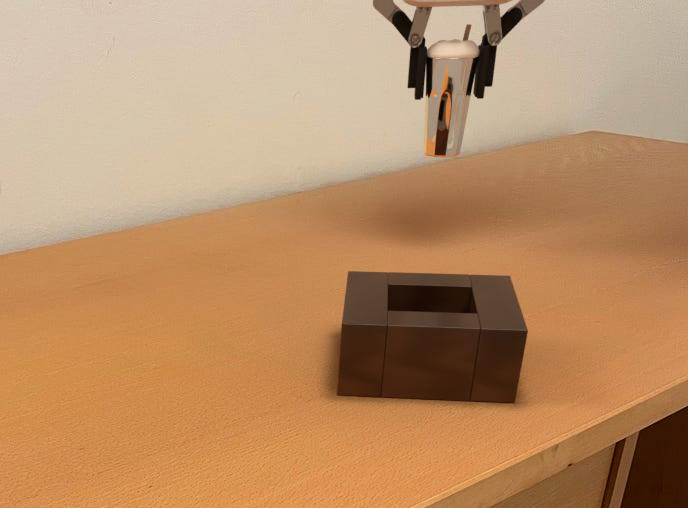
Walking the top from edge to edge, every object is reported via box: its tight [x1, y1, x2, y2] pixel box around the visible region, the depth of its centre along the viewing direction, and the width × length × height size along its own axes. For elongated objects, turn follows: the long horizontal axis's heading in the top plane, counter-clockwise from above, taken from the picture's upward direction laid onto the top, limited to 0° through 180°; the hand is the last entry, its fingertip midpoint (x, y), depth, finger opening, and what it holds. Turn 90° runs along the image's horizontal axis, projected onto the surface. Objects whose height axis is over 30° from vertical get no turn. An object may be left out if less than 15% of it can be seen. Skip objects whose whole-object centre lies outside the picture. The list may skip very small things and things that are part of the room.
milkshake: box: [423, 24, 480, 158], centre depth 87 cm, size 5×5×10 cm
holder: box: [336, 270, 529, 404], centre depth 70 cm, size 12×12×5 cm
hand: (448, 94), depth 87 cm, fingers closed on milkshake, 4 cm apart
